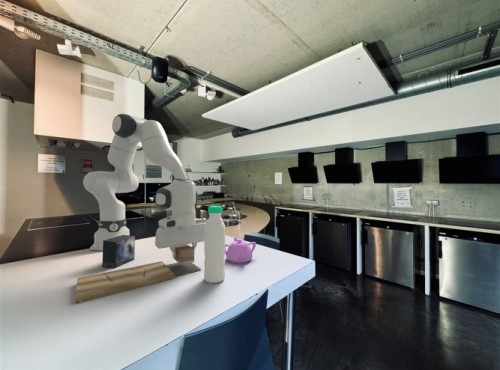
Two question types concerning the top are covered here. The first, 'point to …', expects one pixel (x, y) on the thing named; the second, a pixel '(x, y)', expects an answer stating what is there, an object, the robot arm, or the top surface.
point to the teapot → (239, 251)
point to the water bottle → (214, 246)
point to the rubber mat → (183, 268)
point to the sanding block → (184, 254)
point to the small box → (118, 251)
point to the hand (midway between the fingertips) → (183, 255)
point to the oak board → (120, 280)
